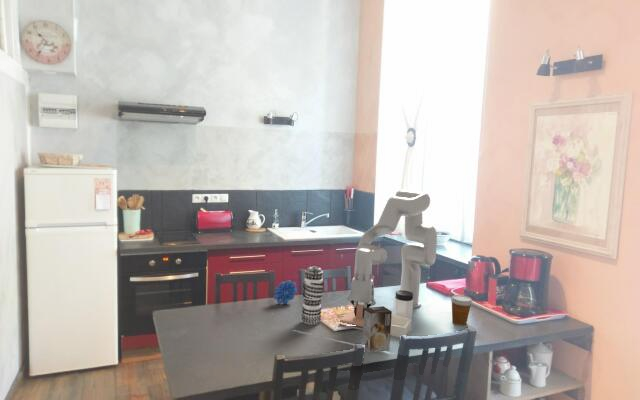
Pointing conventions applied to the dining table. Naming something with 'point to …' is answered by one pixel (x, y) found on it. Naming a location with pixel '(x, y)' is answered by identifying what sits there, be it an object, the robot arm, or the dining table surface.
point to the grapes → (285, 292)
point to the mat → (356, 327)
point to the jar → (403, 304)
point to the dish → (400, 326)
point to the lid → (351, 317)
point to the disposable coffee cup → (460, 309)
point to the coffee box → (376, 329)
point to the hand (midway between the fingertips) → (360, 315)
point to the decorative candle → (312, 295)
